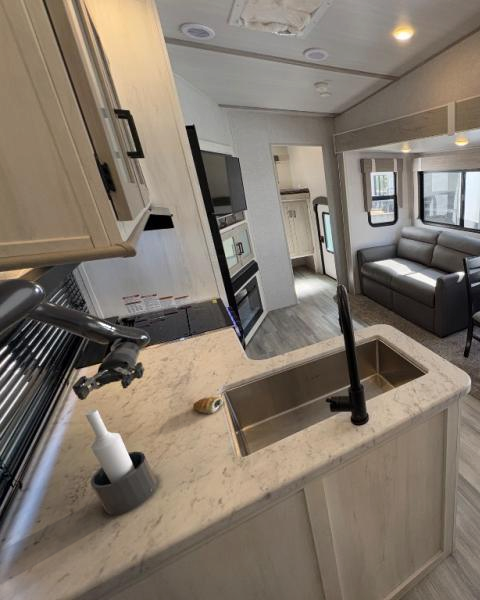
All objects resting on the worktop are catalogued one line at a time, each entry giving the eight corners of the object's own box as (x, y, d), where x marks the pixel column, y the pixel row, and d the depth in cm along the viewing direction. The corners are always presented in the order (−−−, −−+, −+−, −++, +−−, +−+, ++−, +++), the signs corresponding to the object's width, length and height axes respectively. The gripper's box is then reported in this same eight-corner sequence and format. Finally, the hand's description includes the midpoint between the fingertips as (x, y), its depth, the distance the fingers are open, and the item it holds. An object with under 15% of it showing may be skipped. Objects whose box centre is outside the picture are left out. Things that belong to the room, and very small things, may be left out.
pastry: (189, 413, 107) (186, 404, 106) (203, 400, 113) (200, 392, 112) (213, 414, 105) (210, 405, 104) (226, 401, 112) (223, 393, 110)
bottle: (117, 491, 78) (76, 412, 70) (143, 478, 81) (106, 401, 73) (117, 505, 75) (74, 423, 66) (144, 491, 78) (106, 411, 69)
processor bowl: (99, 523, 72) (83, 495, 69) (111, 489, 80) (98, 463, 77) (153, 500, 76) (140, 473, 73) (159, 470, 85) (148, 445, 82)
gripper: (83, 360, 89) (59, 388, 76) (143, 346, 95) (132, 369, 82) (93, 382, 91) (72, 413, 78) (151, 367, 98) (142, 393, 85)
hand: (103, 390), depth 80 cm, fingers open, 8 cm apart
